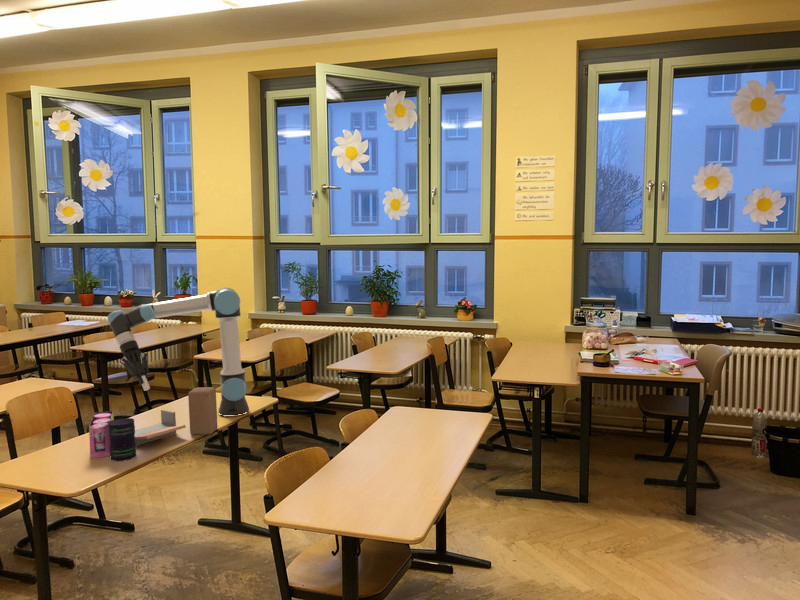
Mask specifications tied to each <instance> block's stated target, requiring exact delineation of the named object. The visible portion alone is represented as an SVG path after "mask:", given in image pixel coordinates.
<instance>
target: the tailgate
mask: <svg viewBox="0 0 800 600" xmlns="http://www.w3.org/2000/svg"><path fill="white" fill-rule="evenodd" d="M185 428H186V425H185V424H180V425H179V424H178V425H176V426H171V427H168V428H164V429H161V430H157V431H154V432H151V433H147V434H144V435H140V436H137V437H135V440H141V439H149V438H153V437H156V436H159V435H162V434H166V433H169V432H172V431H176V432H177V431H179V430H183V429H185Z"/></svg>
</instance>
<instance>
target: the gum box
mask: <svg viewBox="0 0 800 600" xmlns="http://www.w3.org/2000/svg"><path fill="white" fill-rule="evenodd" d="M114 417H115V416H114V411H113V410H111V411H109V410H108V411H100V412H99V411H98V412H94V413H93V416H92V418H91V421H90V423H89V425H88V434H89V435H88V436H89V457H90V458H89V459H94V458H95V459H96V458H105V457H111V456H110V437H109V431H108V429H109V425H108V423H109V422H110V421H112V420H115V418H114Z"/></svg>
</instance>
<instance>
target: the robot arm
mask: <svg viewBox="0 0 800 600" xmlns="http://www.w3.org/2000/svg"><path fill="white" fill-rule="evenodd" d="M208 310H209V311H211V312H214V311H215V312H214V313H215V319H216V320H217V321H218V322H219V323H218V324H219V335H220V345H221V346H220V347H221V360H222V361H221V362H222V369H221V371H220V372H219V373H220V374H219V376H220V392H221V393H220V395H221V397H220V398H221V401H220V404H219V408H218V409H217V413H218V414H219V413H220V414H222V415H238V414H243V413H245V412H248V411H249V412H250V407H249V405H248V402H247V399H246V394H247V393H246V392H247V390H248V389H247V381H246V372H245V369H244V368H243V367H242V361H241V358H242V357H241V346H240V336H239V335H240V333H239V323H238V322H239V318H240V317H241V298H240V296H239V294H238V293H237V291H235V290H234V289H232V288H231V287H223V288H219V289H216V290H212V291H208V292H207V293H206V294H201V295H194V296H189V297H184V298H177V299H171V300H165V301H158V302H153V303H147V304H146V303H142V304H140V305H137V307H135V308H134V309H132V310H129V311H127V312H124V311H123V310H122V309H120V310H114V311H113V312H110V313H109V314H108V315H107V320H108V323H109V324H108V325H109V326H110V328H111V330H112V334H113V335H114V338H115V340H116V342H117V345H118V346H119V350H120V352H121V353H122V359H120V360H119V362H120V363H121V364H122V365H123V366H124V368H125V369H126V370H127V372H128V373H129V374H130V376H131V377H132V378H133V379H134V378H135V379H136V380H137V381H138V383H139V385H141V387H142V389H143V391H144V392H145V391H146V392H147V391H148V390H150V389H151V387H150V383H149V379H148V376H147V374H149V372H150V369H149V364H148V359H147V357H148V353H147V352H145V353H144V352H142V351H141V350H140V347H139V345H138V342H137V340H136V337H135V335H134V333H133V331H132V328H135V327H137V326H139V325H142V324H145V323H147V322H150V321H151V320H155V319H158V318H159V319H160V318H164V317H165V318H166V317H172V316H177V315H184V314H189V313H194V312H195V313H196V312H201V311H208Z"/></svg>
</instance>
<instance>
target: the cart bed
mask: <svg viewBox="0 0 800 600" xmlns="http://www.w3.org/2000/svg"><path fill="white" fill-rule="evenodd" d="M160 417H161V419H160V421H161V422H159V423H156V424H152V425H149V426H145V427H141V428H137V429H135V434H134V436H135V437H137V436H140V435H144V434H147V433H151V432H154V431H157V430H161V429H164V428H168V427H171V426H177V420H176V411H171V410H168V409H161V410H160ZM175 433H176V434H177V430H176V431H172V432H169V433H166V434H162V435H159V436H156V437H153V438H149V439H141V440H135V442H136V447H137V446H140V445H143V444H146V443H149V442H153V441H157V440H159V439H163V438H166V437H169V435H170V436H172V434H173V435H175Z"/></svg>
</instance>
